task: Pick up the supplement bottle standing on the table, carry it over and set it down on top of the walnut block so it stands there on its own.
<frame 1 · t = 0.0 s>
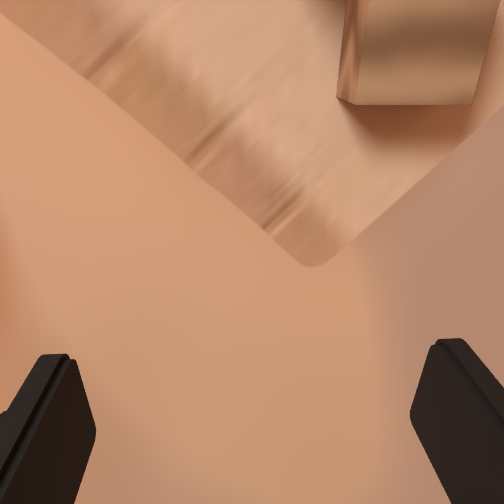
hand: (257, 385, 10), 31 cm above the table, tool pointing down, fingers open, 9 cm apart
walnut block: (396, 37, 34), on the table
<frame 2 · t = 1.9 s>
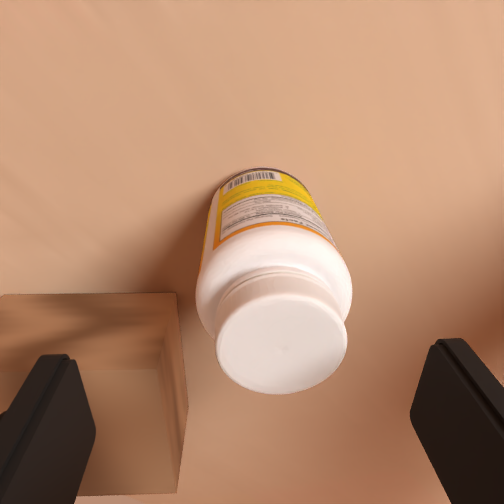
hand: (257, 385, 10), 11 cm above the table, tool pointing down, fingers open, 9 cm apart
supplement bottle: (261, 212, 20), on the table
walnut block: (106, 356, 24), on the table
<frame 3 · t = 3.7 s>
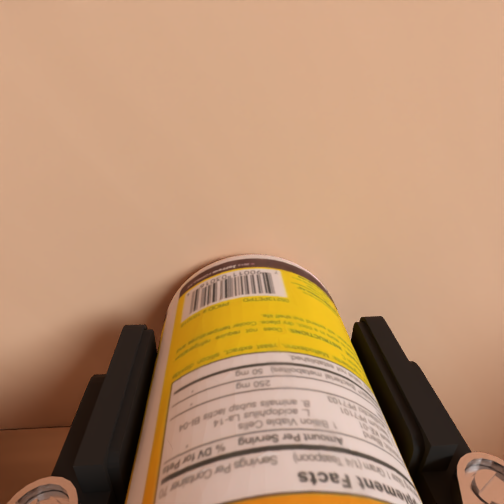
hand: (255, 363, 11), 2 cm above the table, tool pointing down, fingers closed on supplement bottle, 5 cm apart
supplement bottle: (250, 314, 13), on the table, touching gripper
walnut block: (26, 503, 17), on the table
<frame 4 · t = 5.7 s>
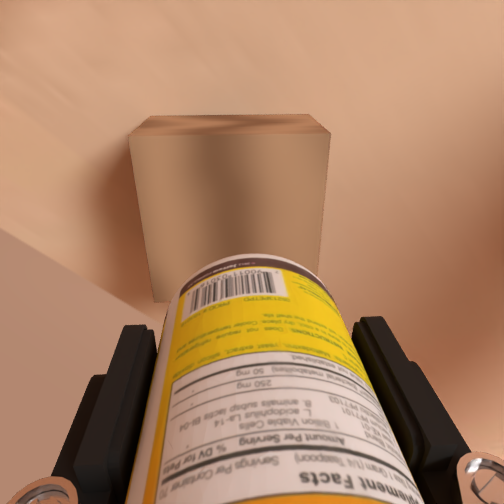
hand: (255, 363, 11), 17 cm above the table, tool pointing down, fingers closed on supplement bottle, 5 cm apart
supplement bottle: (251, 314, 13), point 15 cm above the table, touching gripper
walnut block: (232, 190, 26), on the table
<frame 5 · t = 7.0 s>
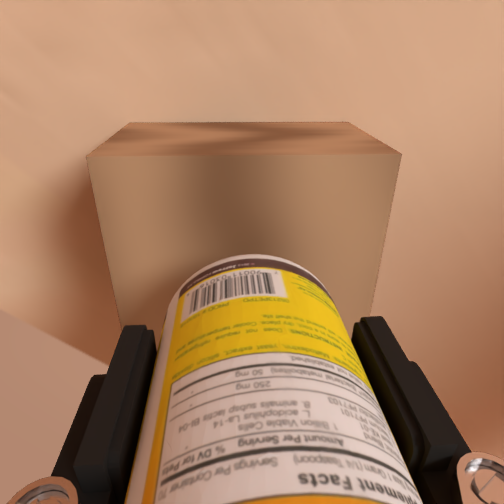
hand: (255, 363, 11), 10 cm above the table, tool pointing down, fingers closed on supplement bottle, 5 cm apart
supplement bottle: (250, 314, 13), point 8 cm above the table, touching gripper
walnut block: (241, 222, 19), on the table
when the fingers open (9 cm above the table, at t = 7.9 s): supplement bottle drops 1 cm, resting on walnut block.
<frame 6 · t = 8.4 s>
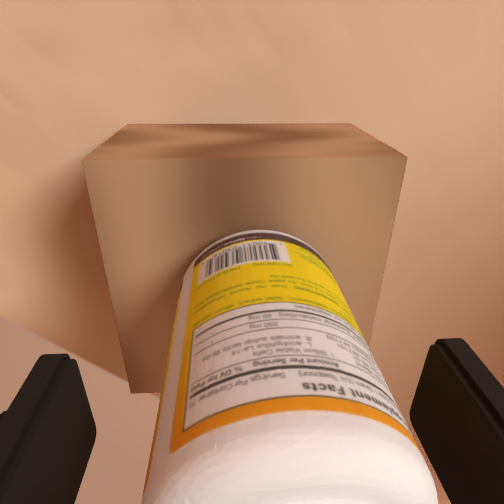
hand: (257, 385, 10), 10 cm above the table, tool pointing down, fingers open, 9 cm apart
supplement bottle: (256, 287, 14), point 6 cm above the table, touching walnut block
walnut block: (241, 225, 19), on the table
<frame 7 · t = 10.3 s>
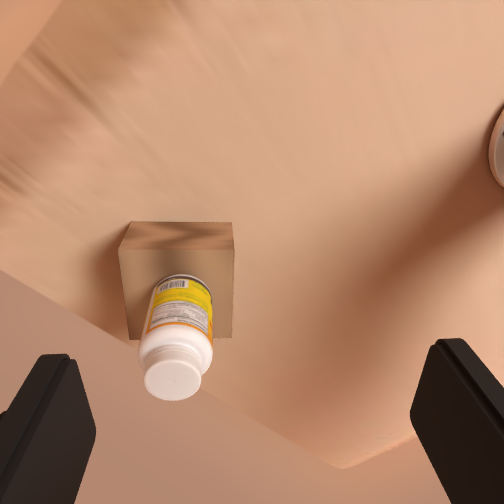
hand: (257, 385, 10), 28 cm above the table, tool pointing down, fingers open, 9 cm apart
supplement bottle: (183, 295, 35), point 6 cm above the table, touching walnut block
walnut block: (183, 264, 40), on the table
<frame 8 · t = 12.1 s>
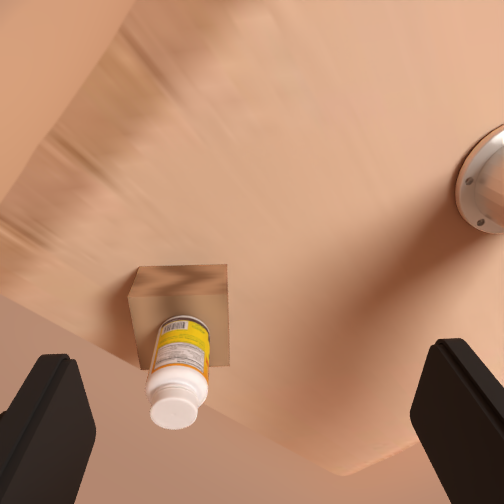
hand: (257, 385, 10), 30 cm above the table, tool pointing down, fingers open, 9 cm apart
supplement bottle: (185, 331, 40), point 6 cm above the table, touching walnut block
walnut block: (186, 300, 45), on the table
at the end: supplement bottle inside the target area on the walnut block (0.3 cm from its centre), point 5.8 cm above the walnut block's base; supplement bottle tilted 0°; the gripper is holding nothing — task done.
